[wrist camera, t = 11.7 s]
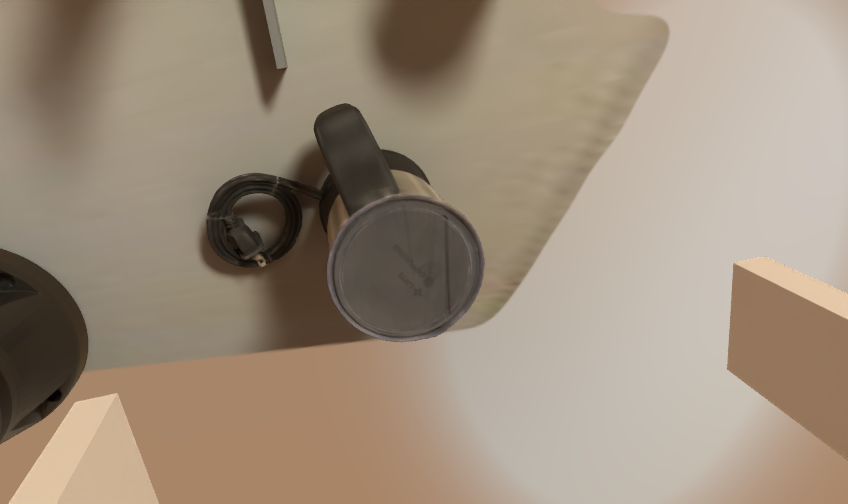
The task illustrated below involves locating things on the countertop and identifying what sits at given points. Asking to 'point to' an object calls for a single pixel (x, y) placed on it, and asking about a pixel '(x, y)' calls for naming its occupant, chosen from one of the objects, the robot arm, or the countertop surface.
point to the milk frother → (367, 234)
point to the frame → (275, 33)
